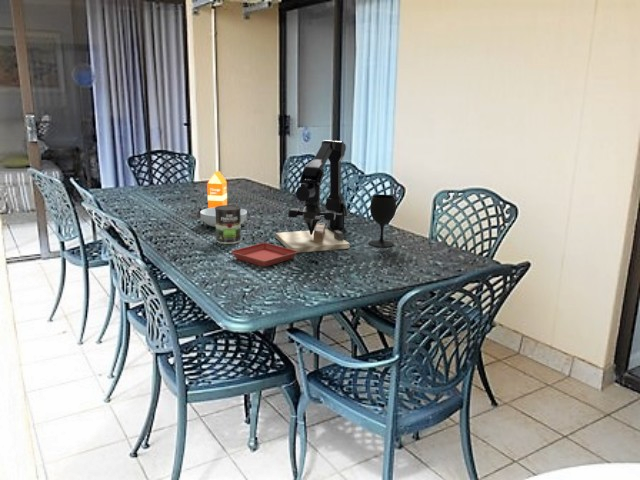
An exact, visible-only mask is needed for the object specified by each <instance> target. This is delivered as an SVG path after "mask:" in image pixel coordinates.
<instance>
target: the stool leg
mask: <svg viewBox="0 0 640 480" xmlns="http://www.w3.org/2000/svg"><path fill="white" fill-rule="evenodd" d="M325 229H326V223H324V222H317V223H316V226H315V228H314V230H315V231H314V241H315V242H322V241H323V237H324V233H325Z"/></svg>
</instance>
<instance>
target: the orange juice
mask: <svg viewBox="0 0 640 480" xmlns="http://www.w3.org/2000/svg"><path fill="white" fill-rule="evenodd" d="M206 185H207V208H213V207H217V206H222V205H228V190H227V189H228V186H227V180H226V179H225V177H224V176H223V174H222V173H221V171H220V170H217V171H215V172H213V174H212V175H211V177H210V179H209V180H208V181H207V184H206Z"/></svg>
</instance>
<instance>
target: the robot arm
mask: <svg viewBox="0 0 640 480" xmlns="http://www.w3.org/2000/svg"><path fill="white" fill-rule="evenodd" d="M346 148H347V146H346V144H345V143H344V141H342V140H333V139H324V140H322V142H321V145H320V147H319V149H318V151H317V153H316V155H315V156H314V158H313V160H312V161H309V162H308V163H307V164H306V165H305V167H304V168H303V170H302V172H301V177H300V180H299V184H300V186H299V187H298V188H297V189H296V191H295V197H296V198H297V200H298V201H300V202H304V207H303V210H301V208H299V207H298V208H297V207H292V208H291V209H289V210H288V212H287V216H288V218H293V219H294V218H297V217H298V216H302V221H304V222H305V223H306V225H307V228H308V231H310V235H312V234H313V231H314V230H315V228H316V225H317V223H319V222H320V221H321V220H322V218H324V220H326V221H327V229H328V228H329V230H331V231H337V230H339V231H341V230H346V227H345V217H348V212H349V211H348V210H349V209H348V207H347V205H346V202H345V198H344V196H343V194H342V184H341V183H342V160H343V158H344V157H345V154H346V153H345V152H346V150H347V149H346ZM327 161H329V185H330V186H329V192H330V193H329V195H328V197H327V198H326V200H325V212H324V211H323V212H322V208H321V205H320V203H321V202H320V201H321V185H322V180H323V178H324V176H325V171H324V168H325V165H326V163H327Z"/></svg>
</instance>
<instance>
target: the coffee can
mask: <svg viewBox="0 0 640 480" xmlns="http://www.w3.org/2000/svg"><path fill="white" fill-rule="evenodd" d="M241 209H242V207H240V206H238V205H233V204H227V205H222V206H217V207H215V212H216V227H215V242H216V243H217V242H218V244H222V245H233V244H234V245H235V244H238V243H240V242H241V241H242V236H241V235H242V232H241V226H242V225H241V224H242V223H241V215H240V210H241Z"/></svg>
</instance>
